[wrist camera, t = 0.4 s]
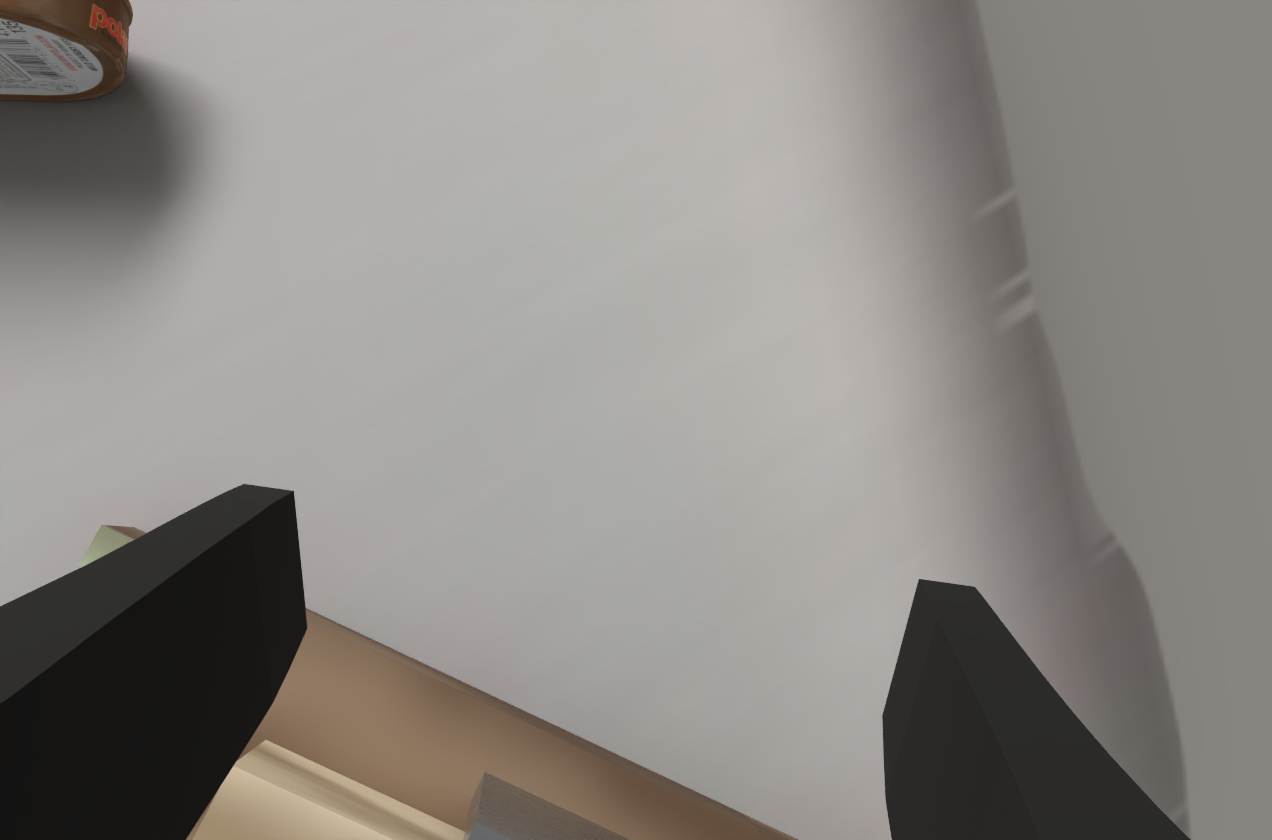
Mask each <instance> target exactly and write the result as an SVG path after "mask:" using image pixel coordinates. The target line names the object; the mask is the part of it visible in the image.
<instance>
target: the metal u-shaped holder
mask: <svg viewBox="0 0 1272 840" xmlns="http://www.w3.org/2000/svg"><path fill="white" fill-rule="evenodd" d="M463 840H630V839H628V838H626V837H623V836H621V835H619V834H617V833H615V832H613V831H611V830H608V829H606V828H604V827H602V826H600V825H598V824H596V823H593V822H591V821H589V820H587V819H585V818H583V817H581V816H578V815H576V814H574V813H572V812H570V811H568V810H566V809H563V808H561V807H559V806H557V805H555V804H553V803H551V802H548V801H546V800H544V799H542V798H540V797H538V796H536V795H533V794H531V793H529V792H527V791H525V790H523V789H521V788H518V787H516V786H514V785H512V784H510V783H508V782H506V781H503V780H501V779H499V778H497V777H495V776H493V775H491V774H488V773H486V772H484V774H483V776H482V778H481V781H480V783H479V785H478V787H477V789H476V791H475V793H474V795H473V797H472V799H471V804H470V809H469V814H468V819H467V824H466V829H465V833H464V838H463Z"/></svg>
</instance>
